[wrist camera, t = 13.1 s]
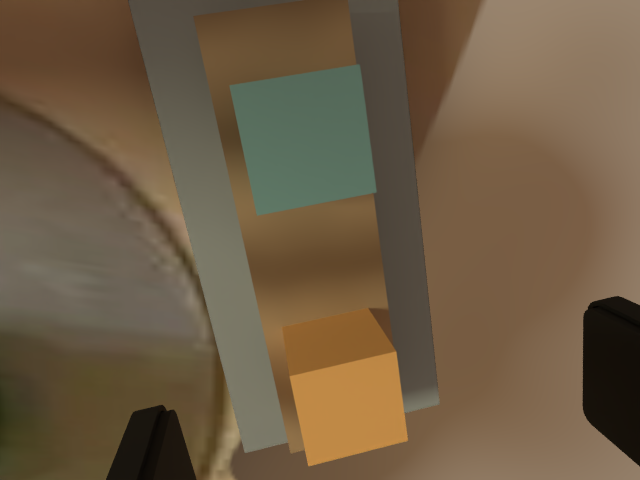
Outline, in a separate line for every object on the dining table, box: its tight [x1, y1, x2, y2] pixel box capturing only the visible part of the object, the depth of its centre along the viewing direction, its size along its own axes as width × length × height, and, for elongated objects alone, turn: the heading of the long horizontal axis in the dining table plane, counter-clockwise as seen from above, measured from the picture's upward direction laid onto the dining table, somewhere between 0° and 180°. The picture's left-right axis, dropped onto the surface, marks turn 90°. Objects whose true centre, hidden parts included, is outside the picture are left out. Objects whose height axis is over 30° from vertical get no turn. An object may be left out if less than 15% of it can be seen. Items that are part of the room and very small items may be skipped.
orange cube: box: [282, 308, 408, 466], centre depth 20 cm, size 4×4×4 cm
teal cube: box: [229, 64, 377, 216], centre depth 17 cm, size 4×4×4 cm
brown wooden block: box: [193, 0, 394, 453], centre depth 23 cm, size 22×6×4 cm, turn 9°
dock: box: [128, 0, 439, 453], centre depth 26 cm, size 26×13×4 cm, turn 9°
